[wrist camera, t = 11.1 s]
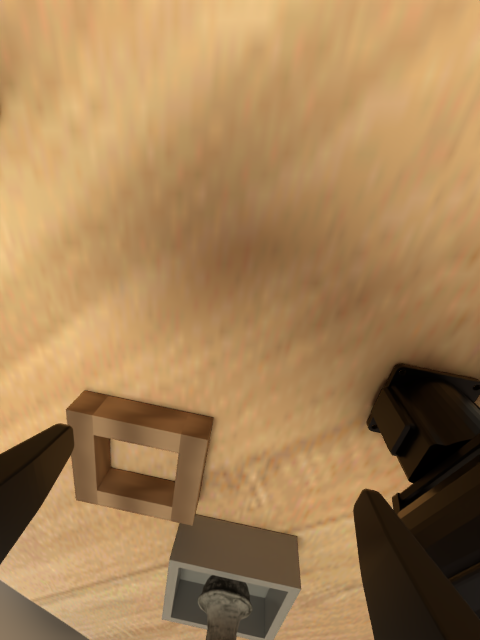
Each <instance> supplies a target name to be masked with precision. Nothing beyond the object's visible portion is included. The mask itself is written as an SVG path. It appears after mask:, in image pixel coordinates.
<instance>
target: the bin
mask: <svg viewBox="0 0 480 640" xmlns="http://www.w3.org/2000/svg"><path fill="white" fill-rule="evenodd" d="M211 575H215V576H219V577H224V578H228V579H233V580H237V581H242V582H245V583H246V584H247V586H248V590H249V594H250V603H251V604H252V612H251V614H250V615H249V616H248V617H246V618H244V619H241V620H240V623H239V626H238V630H237V635H236V636H237V637H242V638H246V639H251V640H274V638H275V636H276V634H277V633H278V631H279V629H280V627H281V625H282V623H283V622H284V620H285V618H286V616H287V614H288V612H289V611H290V609H291V607H292V605H293V603H294V601H295V600H296V598H297V596H298V594H299V592H300V590H301V581H300V568H299V556H298V543H297V537H296V536H291V535H287V534H282V533H278V532H273V531H269V530H264V529H259V528H255V527H250V526H246V525H241V524H237V523H232V522H227V521H223V520H218V519H214V518H209V517H205V516H200V515H195V517H194V522H193V526H191V525H187V524H182V523H180V524H179V527H178V531H177V535H176V538H175V542H174V545H173V549H172V553H171V556H170V560H169V567H168V575H167V583H166V590H165V598H164V606H163V614H162V620H167V621H171V622H176V623H180V624H184V625H189V626H193V627H198V628H202V629H207V614H206V613H205V612H204V611H203V610H202V609H201V608H200V607H199V605H198V598H199V596H200V595H201V594H202V590H203V587H204V585H205V583H206V581H207V579H208V578H209V577H210V576H211Z"/></svg>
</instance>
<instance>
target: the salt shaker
mask: <svg viewBox="0 0 480 640" xmlns="http://www.w3.org/2000/svg"><path fill="white" fill-rule="evenodd" d="M198 605H199V607H200V608H201V609H202V610H203V611H204V612H205V613H206V614H207V635H206V640H236V635H237V630H238V626H239V623H240V620H241V619H244V618H246V617H248V616H249V615H250V614H251V612H252V604H251V603H250V594H249V590H248V586H247V584H246V583H245V582H242V581H237V580H233V579H228V578H224V577H219V576H215V575H211V576H210V577H209V578H208V579H207V581H206V583H205V585H204V587H203V590H202V594H201V595H200V596H199V598H198Z"/></svg>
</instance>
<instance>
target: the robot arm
mask: <svg viewBox="0 0 480 640" xmlns="http://www.w3.org/2000/svg"><path fill="white" fill-rule="evenodd" d="M400 370H403V372H400ZM475 385H476V386H475ZM474 386H475V387H474ZM479 395H480V381H479V380H478V379H474V378H469V377H464V376H459V375H454V374H450V373H445V372H440V371H435V370H430V369H425V368H420V367H416V366H411V365H406V364H398V365H396V366H395V367H394V369H393V371H392V373H391V375H390V377H389V379H388V381H387V383H386V385H385V387H384V388H383V389H382V390H381V392H380V394H379V396H378V398H377V401H376V403H375V405H374V407H373V409H372V411H371V415H370V417H369V419H368V421H367V426H368V428H369V430H370V431H373V432H378V433H381V434H382V436H383V439H384V441H385V443H386V445H387V447H388V449H389V451H390V453H391V454H392V455H394V456H397V458H398V460H399V462H400V464H401V466H402V468H403V470H404V472H405V474H406V476H407V478H408V480H409V482H411V483H413V484H412V485H411V486H409V487H408V488H407V489H405V490H404V491H403V492H401V493H397V494H396V495H394V496H393V497H392V502H393V509H392V508H391V506H390V505H389V504H388V503H387V501H386V500H385V499H384V498H383V496H382V495H381V494H380V493H379V492H377V491H374V490H369V489H364V490H362V492H361V494H360V496H359V497H358V499H357V501H356V503H355V505H354V510H353V513H354V522H355V530H356V538H357V547H358V555H359V563H360V570H361V577H362V582H363V587H364V592H365V597H366V601H367V606H368V611H369V616H370V620H371V625H372V630H373V635H374V639H375V640H480V407H479V406H478V405H477V404H476V403H475V401H476V399H477V398H478V396H479ZM372 425H374V426H372ZM74 444H75V443H74V434H73V428H72V426H70V425H66V424H61V423H59V424H55V425H53V426H52V427H50V428H48V429H46V430H44V431H42V432H40V433H39V434H37V435H35V436H33V437H31V438H29V439H27V440H26V441H24V442H22V443H20V444H18V445H16V446H14V447H13V448H11V449H9V450H7V451H5V452H3V453H2V454H0V564H1V563H2V561H3V560H4V558H5V557H6V556H7V554H8V553H9V551H10V550H11V548H12V547H13V546H14V544H15V543H16V541H17V540H18V538H19V537H20V536H21V534H22V533H23V531H24V530H25V528H26V527H27V526H28V524H29V523H30V521H31V520H32V518H33V517H34V516H35V514H36V513H37V511H38V510H39V508H40V507H41V505H42V504H43V502H44V500H45V499H46V497H47V495H48V494H49V492H50V490H51V488H52V487H53V485H54V483H55V481H56V480H57V478H58V476H59V475H60V473H61V471H62V469H63V468H64V466H65V464H66V462H67V461H68V459H69V457H70V455H71V454H72V452H73V449H74Z"/></svg>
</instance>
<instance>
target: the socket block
mask: <svg viewBox="0 0 480 640" xmlns="http://www.w3.org/2000/svg"><path fill="white" fill-rule="evenodd" d="M66 415H67V424H68V425H70V426H72V428H73V434H74V443H75V444H74V449H73V452H72V454H71V459H72V468H73V477H74V485H75V494H76V500H78V501H82V502H87V503H91V504H96V505H100V506H105V507H109V508H114V509H119V510H123V511H128V512H132V513H137V514H141V515H146V516H150V517H155V518H160V519H164V520H169V521H173V522H178V523H182V524H187V525H191V526H193V522H194V517H195V513H196V509H197V505H198V501H199V495H200V489H201V484H202V478H203V473H204V467H205V462H206V456H207V451H208V445H209V440H210V434H211V429H212V423H213V418H212V417H207V416H203V415H198V414H193V413H188V412H184V411H179V410H174V409H170V408H165V407H160V406H155V405H151V404H146V403H141V402H136V401H132V400H127V399H122V398H118V397H113V396H108V395H103V394H99V393H94V392H89V391H84V392H83V393H82V394H81V395H80V396H79V397H78V398H77V399H76V400H75V401H74V402H73V403H72V404H71V405H70V406H69V407H68V408H67V409H66ZM110 439H115V440H119V441H124V442H128V443H133V444H138V445H142V446H147V447H152V448H156V449H161V450H166V451H170V452H175V453H179V455H178V463H177V471H176V480H175V482H174V481H169V480H165V479H160V478H156V477H151V476H146V475H142V474H137V473H133V472H128V471H123V470H119V469H114V468H111V465H110Z"/></svg>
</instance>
